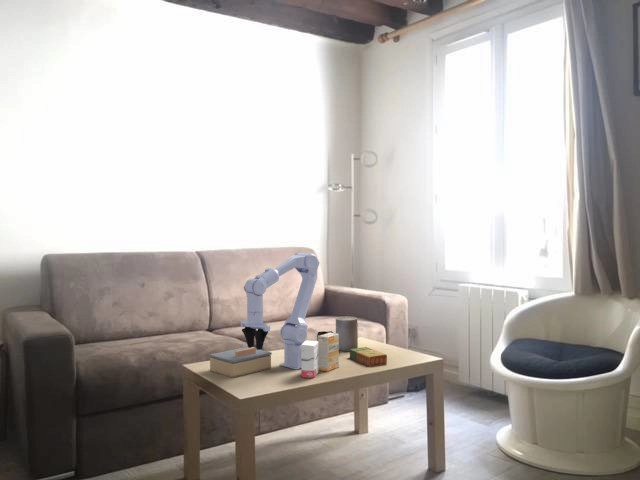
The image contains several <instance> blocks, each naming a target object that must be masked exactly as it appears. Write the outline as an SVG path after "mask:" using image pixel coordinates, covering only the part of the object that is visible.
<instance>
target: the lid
mask: <svg viewBox="0 0 640 480" xmlns="http://www.w3.org/2000/svg"><path fill="white" fill-rule="evenodd" d="M272 354H273V353H272V352H271V351H267V350H263V349H260V350H257V348H256V346H255V347H254V346H253V347H251V348H248V346H245V347H239V348H236V349H229V350H225V351H221V352H214V353H210V354H208V356H209V357H212V358H216V359H219V360H223V361H226V362H230V363H236V362H241V361H245V360H250V359H254V358H259V357H263V356H268V355H271V356H272Z"/></svg>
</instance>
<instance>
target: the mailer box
mask: <svg viewBox="0 0 640 480" xmlns="http://www.w3.org/2000/svg"><path fill="white" fill-rule="evenodd" d="M269 369H272V355H268V356H263V357H259V358H254V359H250V360H245V361H241V362H236V363H230V362H226V361H223V360H219V359H216V358H212V357H210V358H209V371H210V372H213V373H217V374H220V375H222V376H225V377H228V378H233V379H234V378H237V377H242V376H245V375H251V374H253V373H257V372H262V371H267V370H269Z"/></svg>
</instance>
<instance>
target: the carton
mask: <svg viewBox="0 0 640 480" xmlns="http://www.w3.org/2000/svg"><path fill="white" fill-rule="evenodd" d="M349 358H350V359H352V360H354V361H357V362H358V363H361V364H363V365H365V366H367V367H377V366H384V365H387V363H388V356H387V354H386V353H383V352H380V351H378V350H375V349H373V348H370V347H367V346H364V347H362V346H361V347H358V348H354V349H350V351H349Z"/></svg>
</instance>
